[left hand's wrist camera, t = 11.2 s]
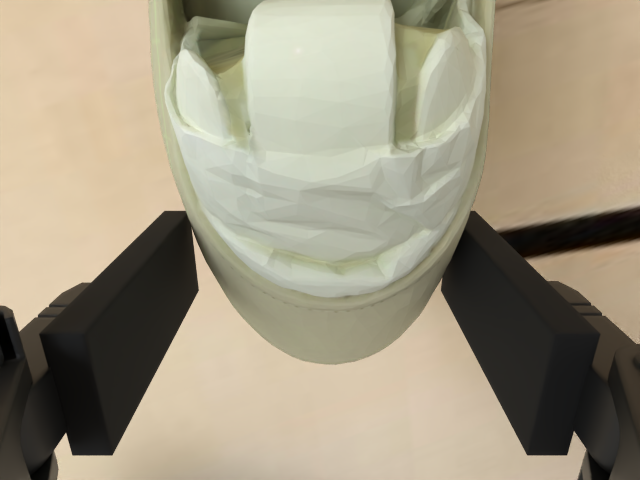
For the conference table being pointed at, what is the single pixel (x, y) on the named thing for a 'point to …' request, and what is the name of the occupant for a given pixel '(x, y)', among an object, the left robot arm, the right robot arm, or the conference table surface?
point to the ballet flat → (325, 155)
